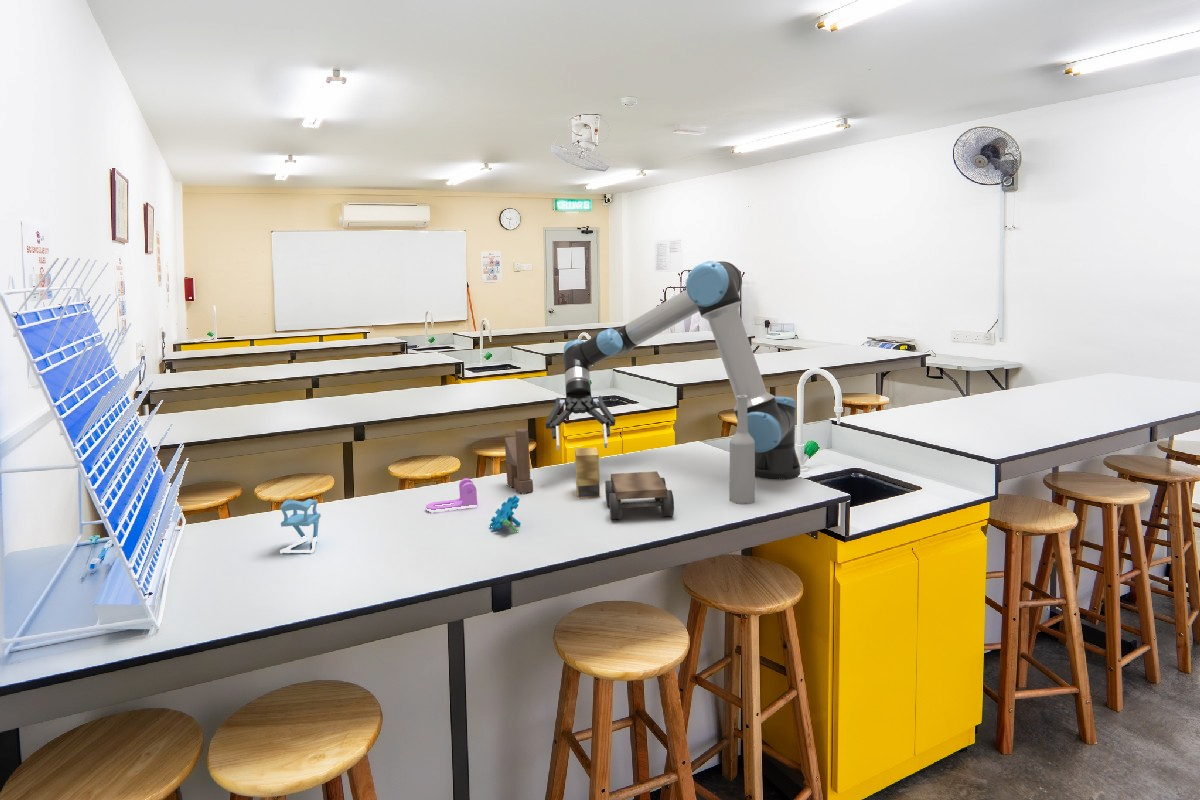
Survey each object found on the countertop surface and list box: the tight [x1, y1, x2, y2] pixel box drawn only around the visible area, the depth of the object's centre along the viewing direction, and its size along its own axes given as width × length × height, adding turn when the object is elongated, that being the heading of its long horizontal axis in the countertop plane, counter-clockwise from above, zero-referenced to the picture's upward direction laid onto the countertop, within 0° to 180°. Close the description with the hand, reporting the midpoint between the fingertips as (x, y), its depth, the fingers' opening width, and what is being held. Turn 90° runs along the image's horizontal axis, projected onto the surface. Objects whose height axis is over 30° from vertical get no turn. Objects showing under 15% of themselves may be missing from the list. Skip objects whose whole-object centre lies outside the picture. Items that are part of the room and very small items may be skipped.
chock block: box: [574, 447, 601, 499], centre depth 203 cm, size 6×8×12 cm
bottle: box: [728, 395, 756, 505], centre depth 192 cm, size 7×7×28 cm
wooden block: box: [504, 427, 534, 494], centre depth 209 cm, size 4×11×18 cm, turn 30°
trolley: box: [604, 471, 675, 520], centre depth 189 cm, size 15×17×8 cm
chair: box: [280, 498, 322, 538], centre depth 170 cm, size 8×8×12 cm
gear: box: [489, 495, 521, 533], centre depth 179 cm, size 11×6×10 cm
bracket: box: [425, 477, 478, 510], centre depth 195 cm, size 13×6×7 cm, turn 109°
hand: (582, 446), depth 209 cm, fingers open, 13 cm apart
